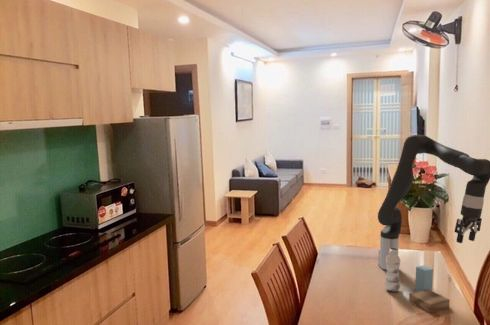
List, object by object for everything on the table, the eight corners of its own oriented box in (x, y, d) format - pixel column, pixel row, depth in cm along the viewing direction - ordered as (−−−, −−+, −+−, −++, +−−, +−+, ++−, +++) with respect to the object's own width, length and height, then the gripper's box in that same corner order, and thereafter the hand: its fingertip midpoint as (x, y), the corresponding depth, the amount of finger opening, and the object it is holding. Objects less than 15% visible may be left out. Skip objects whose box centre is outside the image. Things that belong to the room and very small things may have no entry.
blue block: (415, 291, 175) (416, 266, 174) (422, 289, 177) (424, 265, 176) (423, 296, 170) (425, 270, 169) (431, 294, 172) (433, 269, 171)
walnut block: (409, 302, 166) (409, 293, 165) (427, 297, 170) (427, 289, 170) (430, 313, 156) (430, 304, 155) (449, 308, 160) (449, 299, 160)
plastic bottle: (390, 294, 173) (392, 251, 171) (381, 288, 179) (383, 247, 177) (402, 292, 174) (404, 250, 172) (393, 286, 181) (394, 246, 179)
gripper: (473, 202, 166) (466, 236, 169) (453, 203, 160) (446, 240, 162) (491, 206, 160) (483, 243, 163) (470, 209, 153) (463, 246, 156)
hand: (465, 241), depth 163 cm, fingers open, 8 cm apart
